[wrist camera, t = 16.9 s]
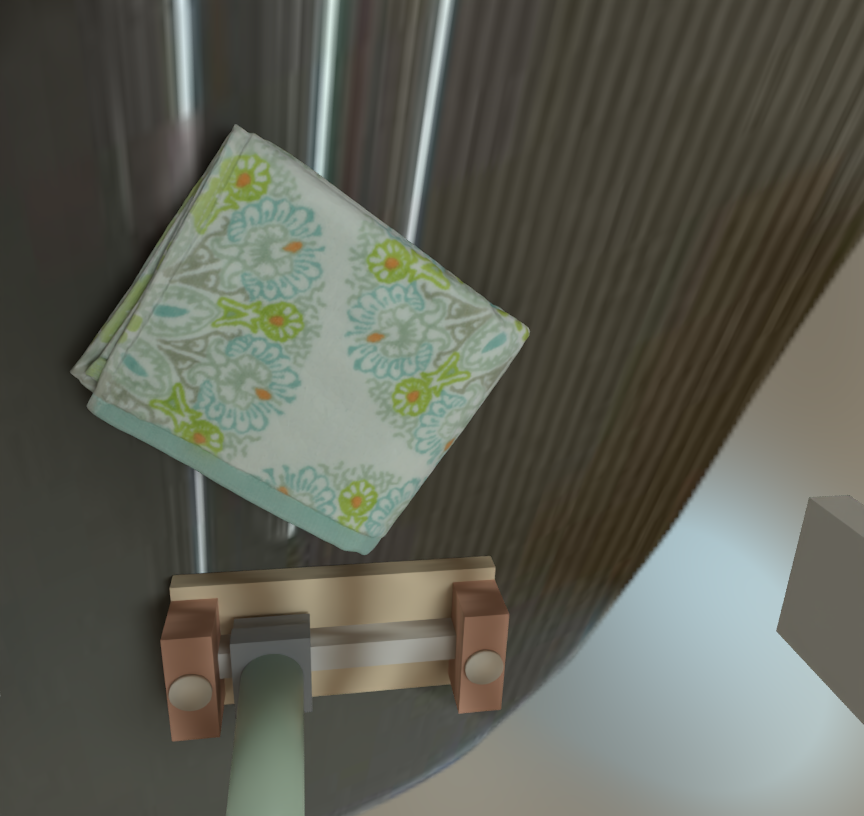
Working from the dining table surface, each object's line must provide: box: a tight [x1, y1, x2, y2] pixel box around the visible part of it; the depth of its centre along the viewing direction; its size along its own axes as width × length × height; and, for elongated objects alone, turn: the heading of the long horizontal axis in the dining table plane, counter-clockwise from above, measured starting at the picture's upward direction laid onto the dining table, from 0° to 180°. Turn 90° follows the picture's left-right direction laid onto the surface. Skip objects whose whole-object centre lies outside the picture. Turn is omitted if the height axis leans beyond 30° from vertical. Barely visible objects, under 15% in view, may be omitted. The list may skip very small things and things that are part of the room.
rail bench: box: [160, 556, 509, 741], centre depth 51 cm, size 22×10×6 cm, turn 88°
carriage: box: [226, 614, 312, 816], centre depth 44 cm, size 5×6×15 cm
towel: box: [70, 124, 530, 555], centre depth 44 cm, size 18×21×5 cm
